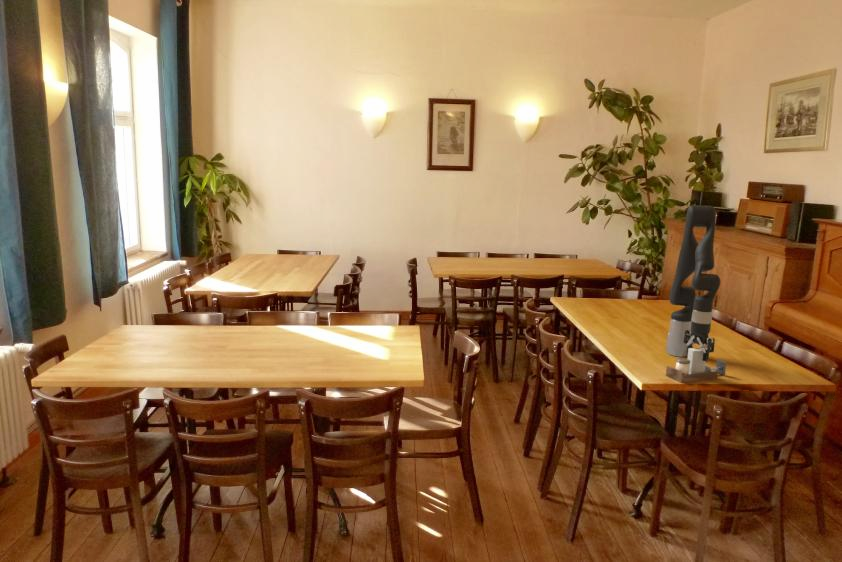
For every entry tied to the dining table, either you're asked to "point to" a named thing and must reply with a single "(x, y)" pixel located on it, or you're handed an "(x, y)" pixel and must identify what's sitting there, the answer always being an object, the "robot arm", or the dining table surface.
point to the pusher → (717, 367)
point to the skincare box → (696, 360)
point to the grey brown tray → (683, 378)
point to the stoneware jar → (683, 365)
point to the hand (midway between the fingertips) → (696, 357)
